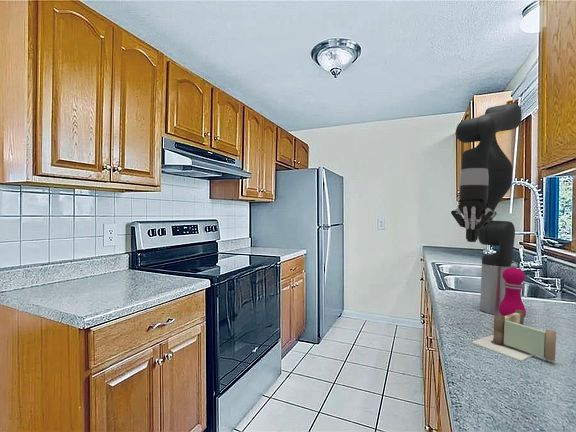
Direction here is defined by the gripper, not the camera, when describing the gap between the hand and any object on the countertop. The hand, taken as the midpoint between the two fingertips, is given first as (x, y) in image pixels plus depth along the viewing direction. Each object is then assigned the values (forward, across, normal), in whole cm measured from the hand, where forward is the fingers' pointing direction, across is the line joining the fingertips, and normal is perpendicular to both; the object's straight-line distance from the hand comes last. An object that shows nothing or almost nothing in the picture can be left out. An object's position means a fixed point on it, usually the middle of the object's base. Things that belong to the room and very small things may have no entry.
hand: (471, 241), depth 98 cm
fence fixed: (+27, -10, -3) cm, 29 cm away
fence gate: (+26, -17, +3) cm, 31 cm away
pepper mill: (+27, -4, -18) cm, 33 cm away
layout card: (+27, -12, +1) cm, 30 cm away
